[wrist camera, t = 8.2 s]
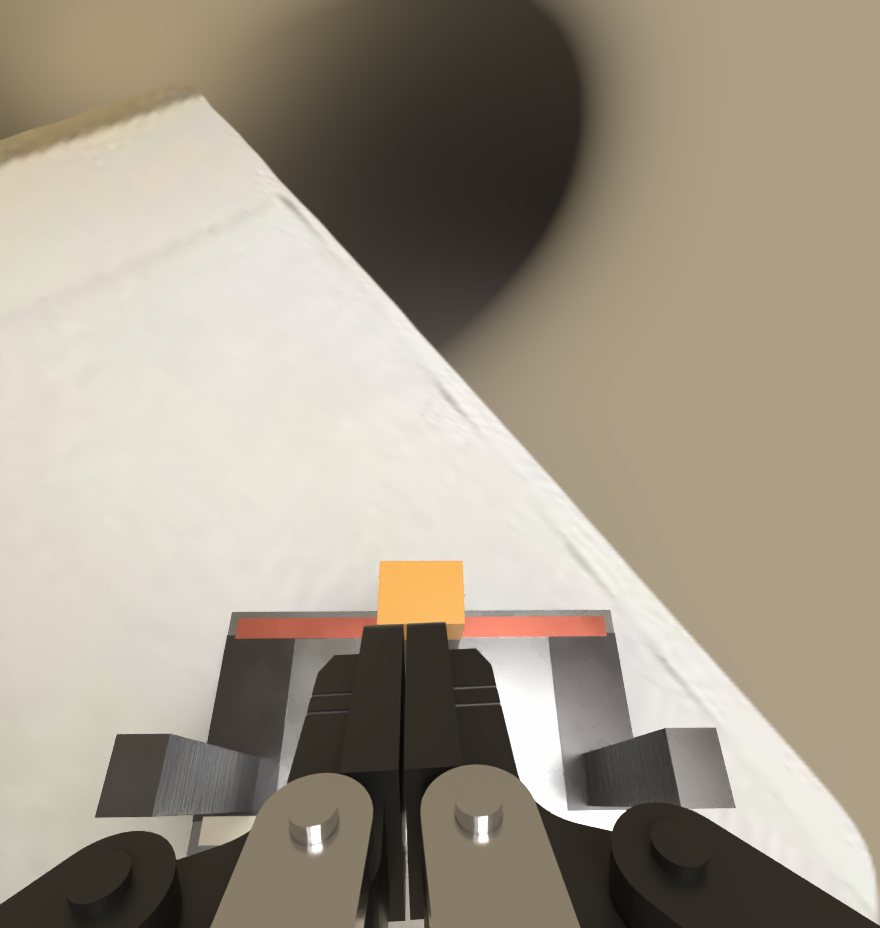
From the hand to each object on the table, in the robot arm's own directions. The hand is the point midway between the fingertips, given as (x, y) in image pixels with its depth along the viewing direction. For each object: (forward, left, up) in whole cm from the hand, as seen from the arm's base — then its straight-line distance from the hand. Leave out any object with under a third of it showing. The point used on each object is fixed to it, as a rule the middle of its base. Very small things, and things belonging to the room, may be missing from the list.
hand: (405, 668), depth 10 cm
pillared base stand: (+2, +1, -26) cm, 26 cm away
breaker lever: (+4, +2, -22) cm, 23 cm away
